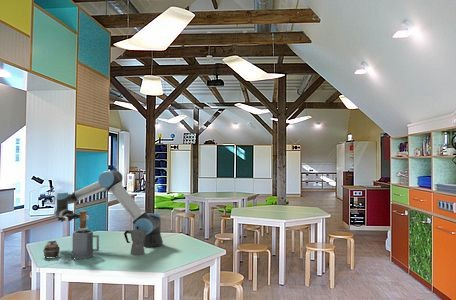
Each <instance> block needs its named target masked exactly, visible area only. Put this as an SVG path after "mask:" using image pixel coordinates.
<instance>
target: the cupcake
mask: <svg viewBox="0 0 456 300" xmlns="http://www.w3.org/2000/svg"><path fill="white" fill-rule="evenodd" d="M59 253H60V246H59V244H58V242H57V241H56V240H52V241H47V243H46V244H45V246H44V248H43V256H45V257H56V256H58V257H59ZM45 257H44V258H45ZM56 258H57V257H56Z"/></svg>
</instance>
